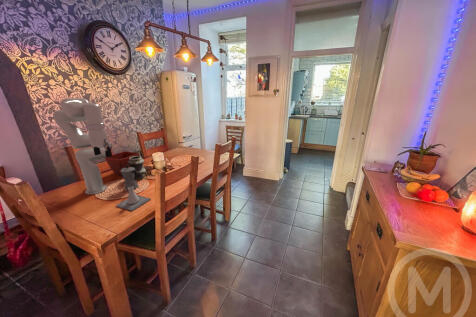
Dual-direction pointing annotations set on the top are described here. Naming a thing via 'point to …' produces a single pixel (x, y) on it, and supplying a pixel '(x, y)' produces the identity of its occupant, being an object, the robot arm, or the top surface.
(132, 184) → the coffeepot
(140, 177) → the apothecary jar
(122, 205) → the slate coaster
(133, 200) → the flask
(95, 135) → the robot arm
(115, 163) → the plant pot
